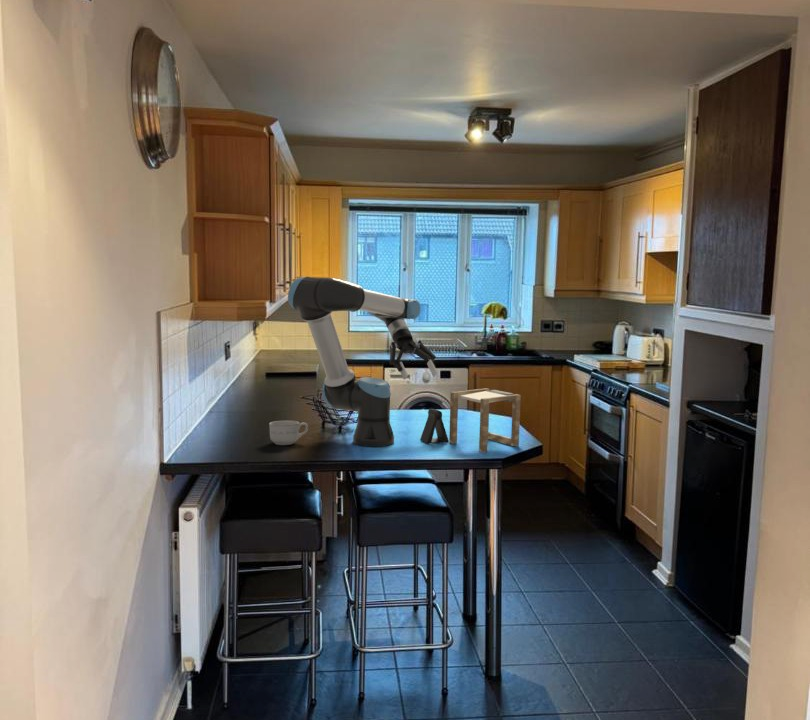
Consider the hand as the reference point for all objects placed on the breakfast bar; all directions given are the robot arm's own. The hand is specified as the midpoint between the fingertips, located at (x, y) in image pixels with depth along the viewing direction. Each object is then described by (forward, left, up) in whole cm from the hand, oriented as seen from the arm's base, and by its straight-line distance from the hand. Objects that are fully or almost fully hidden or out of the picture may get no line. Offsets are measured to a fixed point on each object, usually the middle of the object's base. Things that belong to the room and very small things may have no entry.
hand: (420, 376), depth 276 cm
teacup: (-15, -49, -23) cm, 56 cm away
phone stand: (+11, -2, -23) cm, 26 cm away
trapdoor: (+25, +12, -7) cm, 29 cm away
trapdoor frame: (+25, +10, -23) cm, 35 cm away
